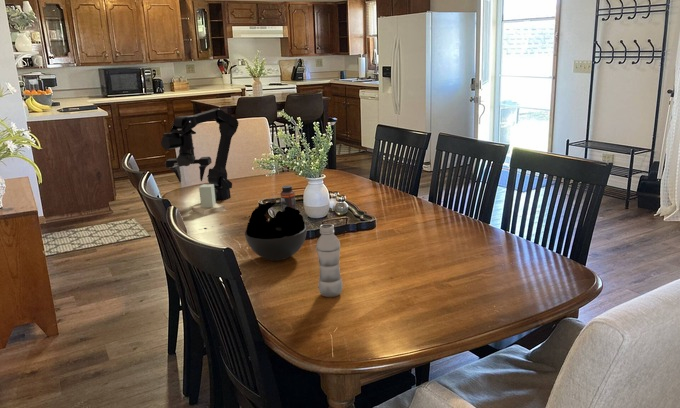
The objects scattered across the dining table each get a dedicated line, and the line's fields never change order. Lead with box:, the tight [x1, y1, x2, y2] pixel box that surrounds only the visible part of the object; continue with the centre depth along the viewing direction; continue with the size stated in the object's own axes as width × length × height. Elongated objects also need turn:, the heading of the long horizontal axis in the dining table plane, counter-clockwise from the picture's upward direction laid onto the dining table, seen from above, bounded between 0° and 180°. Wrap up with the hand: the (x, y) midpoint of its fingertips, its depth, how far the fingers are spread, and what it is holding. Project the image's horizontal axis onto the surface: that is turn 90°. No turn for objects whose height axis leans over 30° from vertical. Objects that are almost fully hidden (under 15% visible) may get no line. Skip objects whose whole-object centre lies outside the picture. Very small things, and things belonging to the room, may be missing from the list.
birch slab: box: [191, 202, 226, 217], centre depth 243 cm, size 10×10×2 cm
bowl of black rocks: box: [244, 201, 308, 261], centre depth 185 cm, size 20×20×19 cm
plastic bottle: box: [315, 223, 344, 298], centre depth 155 cm, size 6×7×20 cm
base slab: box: [191, 209, 227, 217], centre depth 244 cm, size 11×11×2 cm
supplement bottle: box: [280, 184, 297, 212], centre depth 237 cm, size 6×6×11 cm
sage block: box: [198, 183, 217, 208], centre depth 242 cm, size 5×5×9 cm
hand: (191, 181), depth 247 cm, fingers open, 9 cm apart
